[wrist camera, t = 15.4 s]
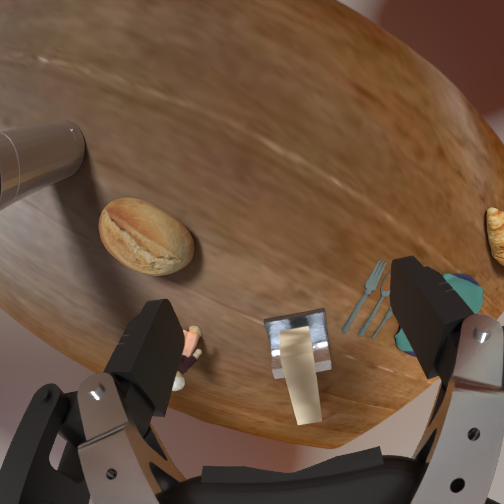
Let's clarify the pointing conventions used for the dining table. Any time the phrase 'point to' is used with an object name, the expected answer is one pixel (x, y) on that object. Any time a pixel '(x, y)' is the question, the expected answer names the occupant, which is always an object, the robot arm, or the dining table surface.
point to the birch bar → (300, 374)
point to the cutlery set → (459, 282)
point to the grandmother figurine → (187, 355)
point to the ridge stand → (317, 334)
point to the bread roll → (145, 237)
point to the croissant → (496, 233)
